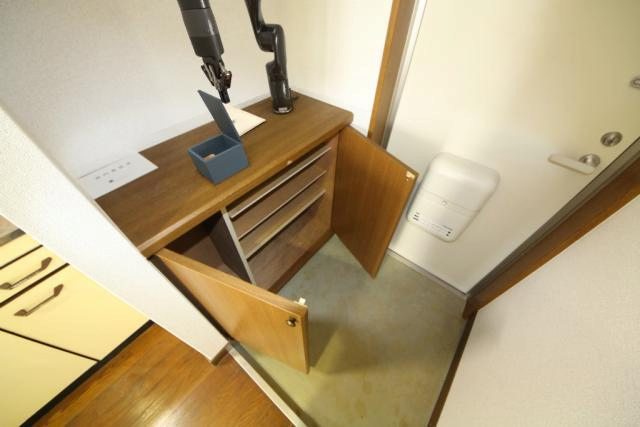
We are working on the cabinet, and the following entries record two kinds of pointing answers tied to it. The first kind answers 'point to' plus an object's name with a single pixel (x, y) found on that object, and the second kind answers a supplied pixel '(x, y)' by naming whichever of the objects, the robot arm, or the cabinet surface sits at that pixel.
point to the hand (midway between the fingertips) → (226, 102)
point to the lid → (220, 115)
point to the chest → (219, 157)
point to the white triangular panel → (242, 119)
